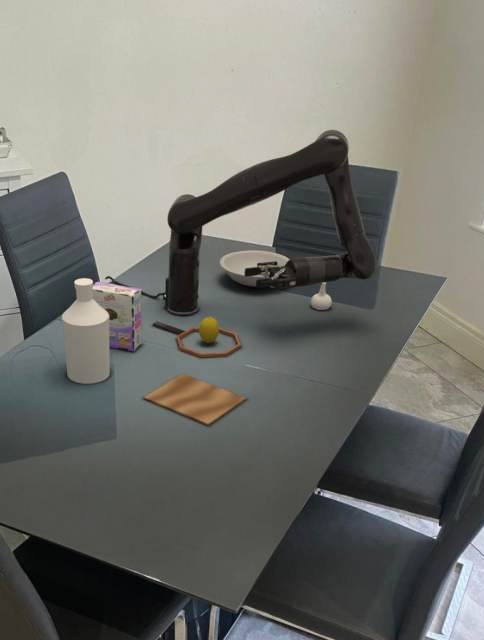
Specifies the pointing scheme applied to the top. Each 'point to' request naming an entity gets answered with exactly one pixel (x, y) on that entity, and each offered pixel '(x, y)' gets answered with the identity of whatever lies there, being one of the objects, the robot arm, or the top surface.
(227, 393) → the wooden cutting board
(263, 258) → the soup bowl
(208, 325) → the lemon
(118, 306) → the candy box
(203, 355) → the magnifying glass
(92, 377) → the bottle
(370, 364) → the top surface
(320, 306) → the garlic bulb
